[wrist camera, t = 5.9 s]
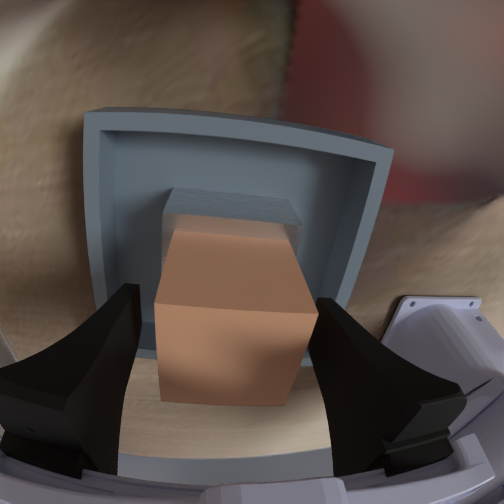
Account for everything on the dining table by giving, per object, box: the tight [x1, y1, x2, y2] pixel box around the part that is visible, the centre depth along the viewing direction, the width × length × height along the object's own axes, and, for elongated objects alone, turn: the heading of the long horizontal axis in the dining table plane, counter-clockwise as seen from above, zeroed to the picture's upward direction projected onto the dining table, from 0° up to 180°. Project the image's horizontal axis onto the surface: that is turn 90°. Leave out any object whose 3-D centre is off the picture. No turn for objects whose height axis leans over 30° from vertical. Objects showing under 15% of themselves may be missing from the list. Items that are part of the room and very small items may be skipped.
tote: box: [83, 107, 394, 366], centre depth 17 cm, size 14×14×3 cm
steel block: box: [161, 187, 303, 275], centre depth 16 cm, size 6×6×4 cm
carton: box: [154, 231, 318, 406], centre depth 13 cm, size 5×5×5 cm
